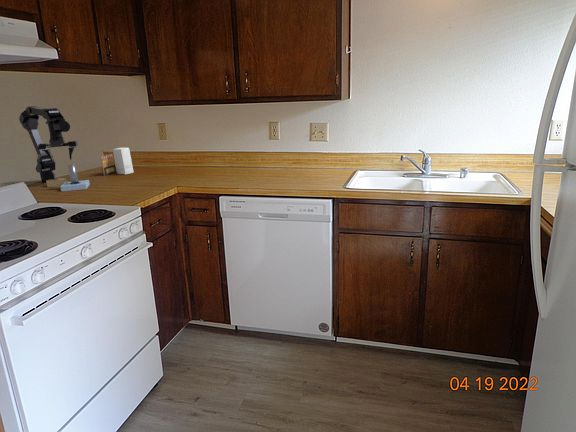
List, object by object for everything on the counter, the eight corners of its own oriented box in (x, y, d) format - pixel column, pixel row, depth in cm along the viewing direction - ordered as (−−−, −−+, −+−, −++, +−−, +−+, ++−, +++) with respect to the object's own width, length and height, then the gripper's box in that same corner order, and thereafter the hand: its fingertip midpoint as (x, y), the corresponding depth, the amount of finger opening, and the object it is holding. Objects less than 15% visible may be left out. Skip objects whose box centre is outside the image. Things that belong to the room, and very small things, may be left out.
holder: (61, 191, 217) (60, 186, 216) (65, 186, 228) (64, 182, 227) (86, 188, 220) (85, 184, 220) (89, 184, 231) (88, 179, 231)
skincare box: (134, 172, 259) (130, 147, 255) (125, 174, 254) (120, 149, 249) (125, 172, 264) (121, 147, 259) (116, 174, 258) (112, 148, 254)
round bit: (70, 188, 223) (66, 165, 219) (74, 187, 226) (70, 164, 222) (77, 188, 222) (72, 165, 219) (80, 186, 226) (76, 163, 222)
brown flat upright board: (105, 175, 254) (102, 156, 250) (102, 175, 254) (99, 156, 251) (116, 172, 264) (113, 153, 260) (114, 172, 264) (111, 153, 261)
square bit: (67, 185, 233) (66, 178, 232) (63, 186, 229) (62, 179, 228) (51, 185, 233) (50, 178, 232) (47, 187, 230) (46, 180, 228)
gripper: (32, 134, 217) (39, 164, 221) (71, 131, 222) (77, 160, 226) (37, 133, 227) (44, 162, 231) (75, 130, 232) (81, 158, 236)
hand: (61, 160), depth 231 cm, fingers open, 9 cm apart
